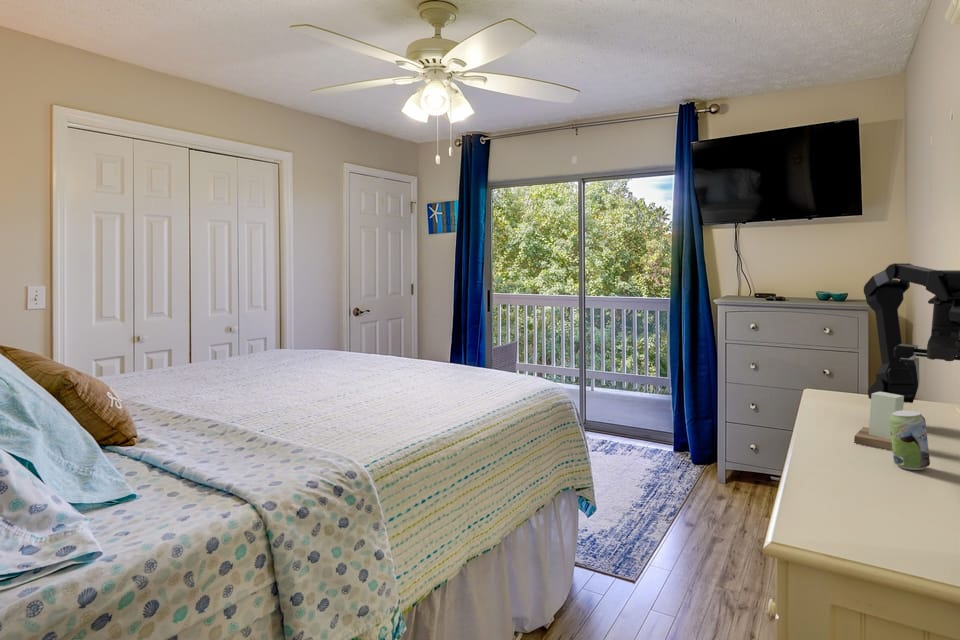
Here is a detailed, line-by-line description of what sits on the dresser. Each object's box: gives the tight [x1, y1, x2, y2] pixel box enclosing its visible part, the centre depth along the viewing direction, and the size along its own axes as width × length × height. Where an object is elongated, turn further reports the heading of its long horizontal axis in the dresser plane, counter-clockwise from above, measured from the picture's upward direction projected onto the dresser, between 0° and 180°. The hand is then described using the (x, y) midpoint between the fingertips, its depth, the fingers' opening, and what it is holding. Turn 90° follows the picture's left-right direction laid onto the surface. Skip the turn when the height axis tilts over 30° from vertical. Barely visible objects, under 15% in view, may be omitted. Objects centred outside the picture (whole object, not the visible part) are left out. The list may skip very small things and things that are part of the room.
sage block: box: [868, 392, 905, 440], centre depth 131 cm, size 4×5×10 cm
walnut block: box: [853, 426, 893, 452], centre depth 132 cm, size 10×10×2 cm
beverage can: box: [889, 409, 931, 471], centre depth 116 cm, size 6×7×12 cm
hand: (941, 391), depth 128 cm, fingers open, 9 cm apart
